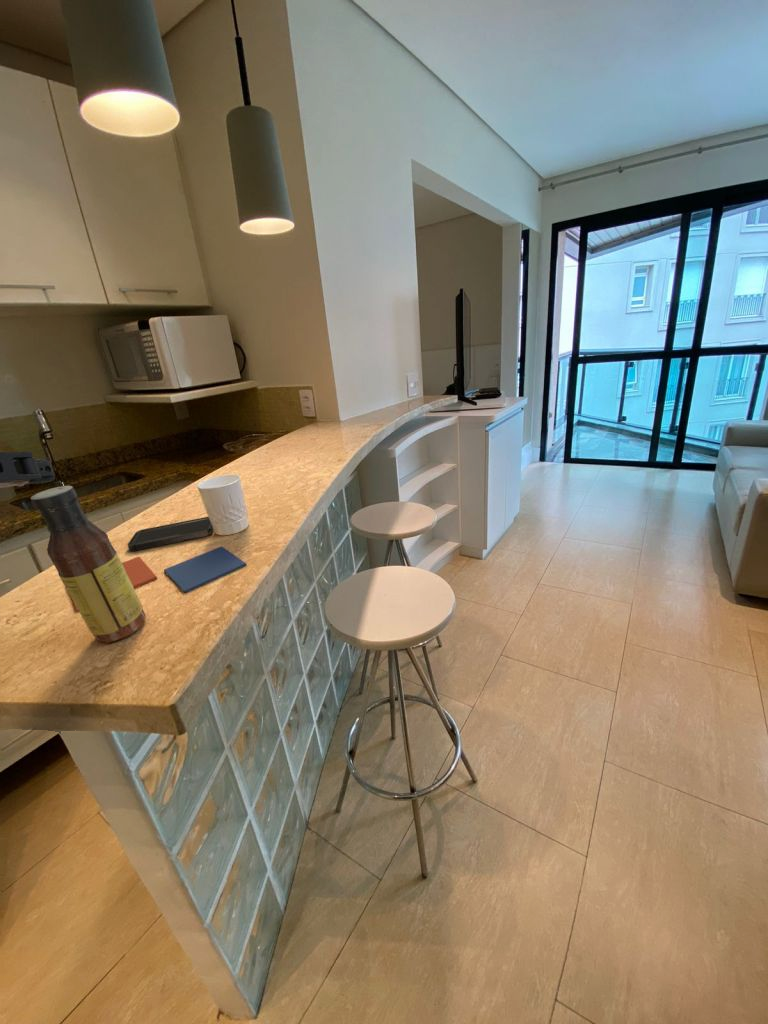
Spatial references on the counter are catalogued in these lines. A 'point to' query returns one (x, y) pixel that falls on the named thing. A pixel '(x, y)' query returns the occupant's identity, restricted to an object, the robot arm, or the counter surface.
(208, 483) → the white cup
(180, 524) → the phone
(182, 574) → the slate-blue mat
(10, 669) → the counter surface
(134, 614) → the sauce bottle
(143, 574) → the terracotta mat
